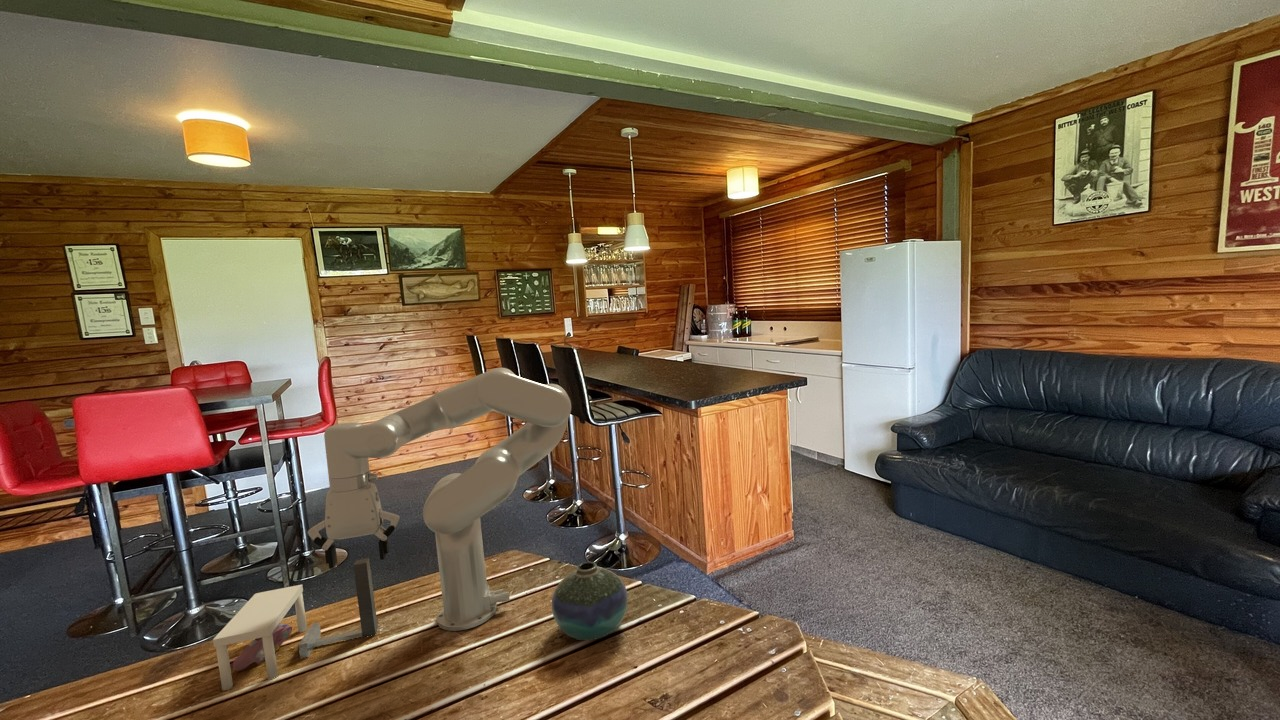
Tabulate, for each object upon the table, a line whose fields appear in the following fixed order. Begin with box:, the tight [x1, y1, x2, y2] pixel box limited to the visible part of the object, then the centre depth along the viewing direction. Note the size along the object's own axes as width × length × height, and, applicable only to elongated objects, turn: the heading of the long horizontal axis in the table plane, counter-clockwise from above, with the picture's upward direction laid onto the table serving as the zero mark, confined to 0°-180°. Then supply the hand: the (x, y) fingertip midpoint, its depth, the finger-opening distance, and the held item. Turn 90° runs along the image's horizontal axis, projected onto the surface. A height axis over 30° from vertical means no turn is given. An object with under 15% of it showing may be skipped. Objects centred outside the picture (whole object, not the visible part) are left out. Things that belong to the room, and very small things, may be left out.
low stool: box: [212, 584, 308, 692], centre depth 105 cm, size 9×18×10 cm, turn 16°
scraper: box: [298, 557, 379, 660], centre depth 109 cm, size 13×8×16 cm, turn 106°
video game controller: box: [232, 622, 293, 672], centre depth 106 cm, size 10×5×7 cm, turn 169°
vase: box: [551, 561, 629, 641], centre depth 105 cm, size 15×15×13 cm
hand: (358, 561), depth 110 cm, fingers open, 9 cm apart
